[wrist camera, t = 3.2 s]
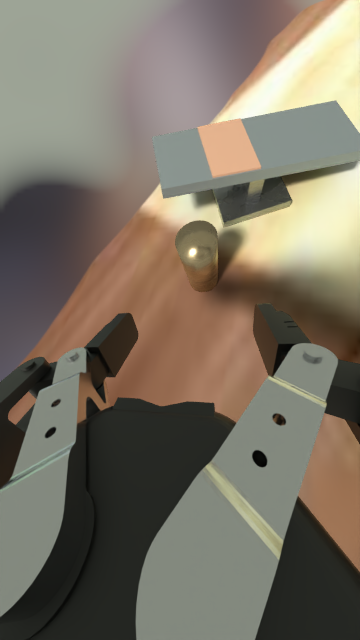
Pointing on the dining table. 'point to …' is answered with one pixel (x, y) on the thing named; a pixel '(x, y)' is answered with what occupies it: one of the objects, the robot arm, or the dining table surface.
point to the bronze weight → (199, 254)
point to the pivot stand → (250, 199)
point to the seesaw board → (255, 148)
